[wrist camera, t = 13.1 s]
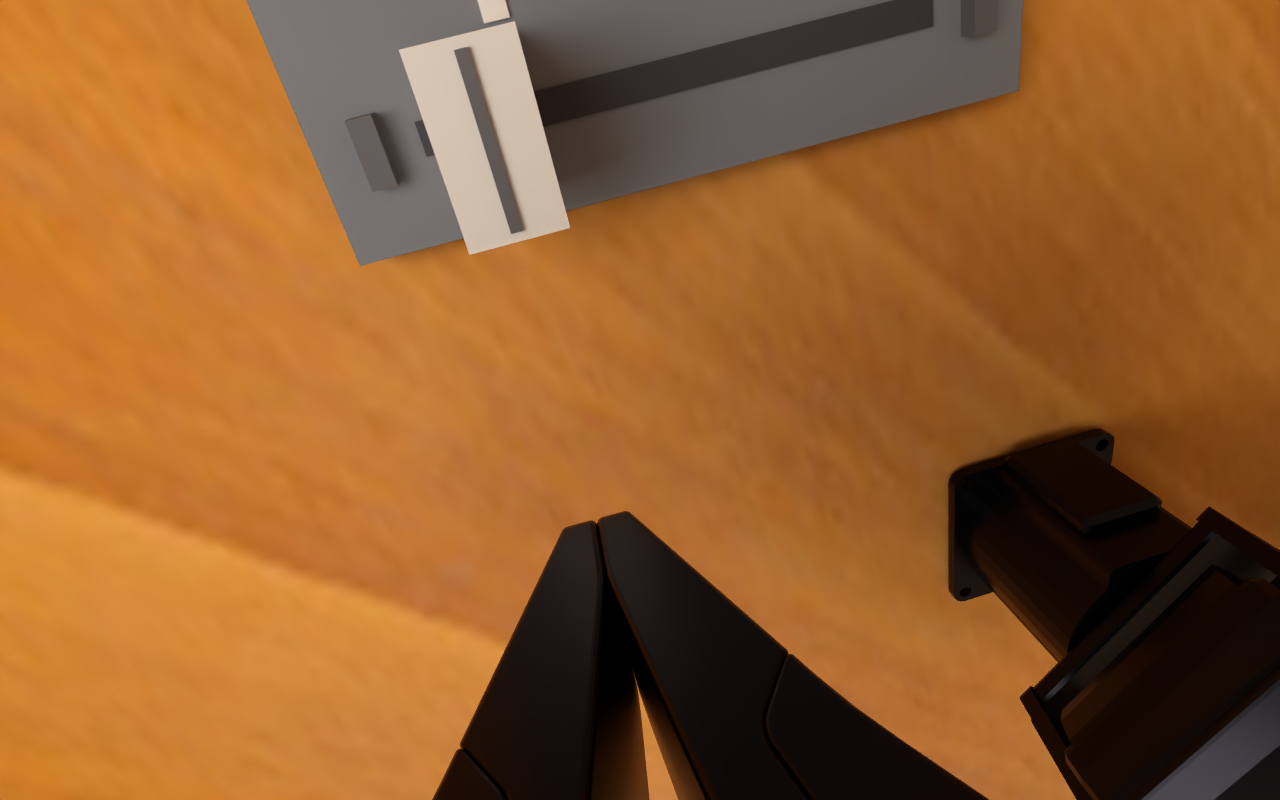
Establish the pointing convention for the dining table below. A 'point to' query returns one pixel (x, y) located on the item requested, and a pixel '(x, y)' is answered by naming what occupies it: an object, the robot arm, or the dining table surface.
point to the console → (623, 88)
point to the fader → (487, 136)
